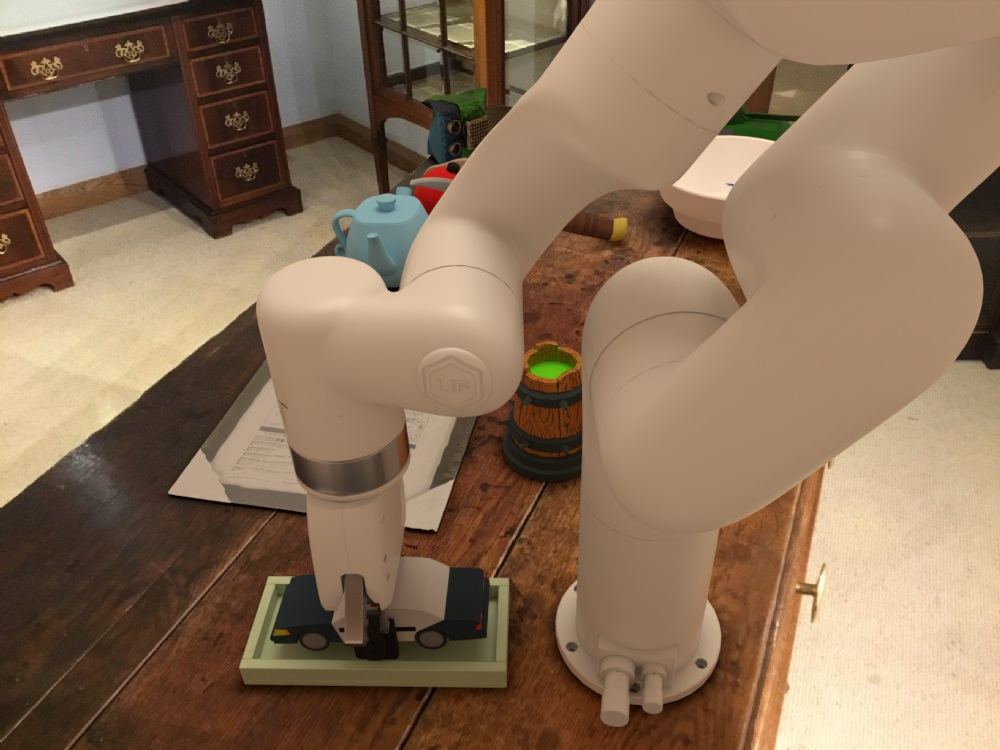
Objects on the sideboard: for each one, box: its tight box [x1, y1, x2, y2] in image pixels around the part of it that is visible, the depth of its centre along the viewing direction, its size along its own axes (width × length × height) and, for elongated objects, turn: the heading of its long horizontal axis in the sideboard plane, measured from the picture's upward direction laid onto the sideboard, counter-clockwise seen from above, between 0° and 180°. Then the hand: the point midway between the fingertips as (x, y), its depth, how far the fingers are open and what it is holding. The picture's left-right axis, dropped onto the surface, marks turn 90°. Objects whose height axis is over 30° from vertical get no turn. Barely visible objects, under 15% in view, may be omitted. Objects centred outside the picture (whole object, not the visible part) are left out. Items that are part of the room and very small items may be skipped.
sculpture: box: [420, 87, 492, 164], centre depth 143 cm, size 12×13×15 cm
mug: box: [498, 339, 583, 483], centre depth 80 cm, size 13×10×12 cm
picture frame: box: [167, 357, 478, 532], centre depth 89 cm, size 26×1×30 cm
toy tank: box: [717, 103, 802, 141], centre depth 136 cm, size 16×23×10 cm
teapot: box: [331, 186, 428, 288], centre depth 109 cm, size 15×14×11 cm
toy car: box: [270, 556, 490, 651], centre depth 64 cm, size 5×16×5 cm, turn 88°
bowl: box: [659, 135, 775, 240], centre depth 120 cm, size 22×22×8 cm
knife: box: [409, 177, 628, 242], centre depth 114 cm, size 5×4×30 cm
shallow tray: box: [238, 575, 510, 689], centre depth 66 cm, size 9×20×2 cm, turn 88°
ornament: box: [413, 162, 460, 216], centre depth 120 cm, size 9×9×10 cm
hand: (383, 621), depth 65 cm, fingers closed on toy car, 5 cm apart
